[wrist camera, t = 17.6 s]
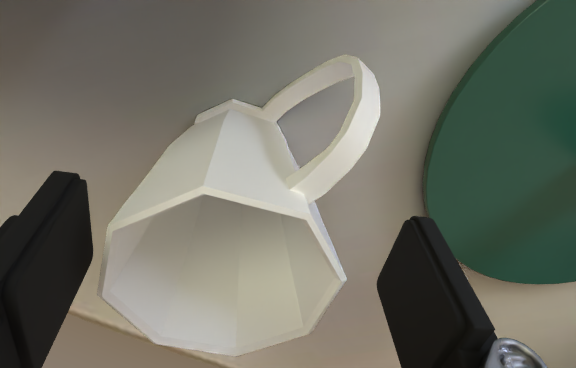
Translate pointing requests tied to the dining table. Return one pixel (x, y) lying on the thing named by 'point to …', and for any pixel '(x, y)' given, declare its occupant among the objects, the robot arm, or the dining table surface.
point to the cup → (236, 225)
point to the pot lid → (512, 153)
